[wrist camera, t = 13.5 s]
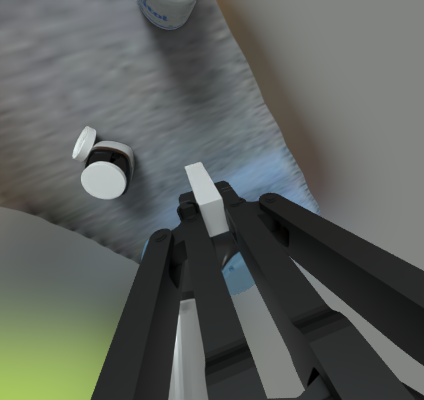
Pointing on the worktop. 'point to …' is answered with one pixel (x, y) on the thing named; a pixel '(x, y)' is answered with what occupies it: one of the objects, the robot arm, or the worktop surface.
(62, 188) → the worktop surface
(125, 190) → the spread jar
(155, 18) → the supplement tub
